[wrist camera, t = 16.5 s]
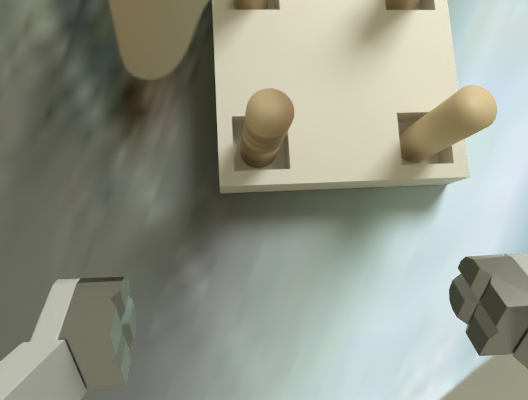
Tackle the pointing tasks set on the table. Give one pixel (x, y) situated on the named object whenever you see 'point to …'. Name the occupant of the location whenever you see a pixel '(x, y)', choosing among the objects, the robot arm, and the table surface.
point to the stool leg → (265, 126)
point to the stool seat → (345, 93)
